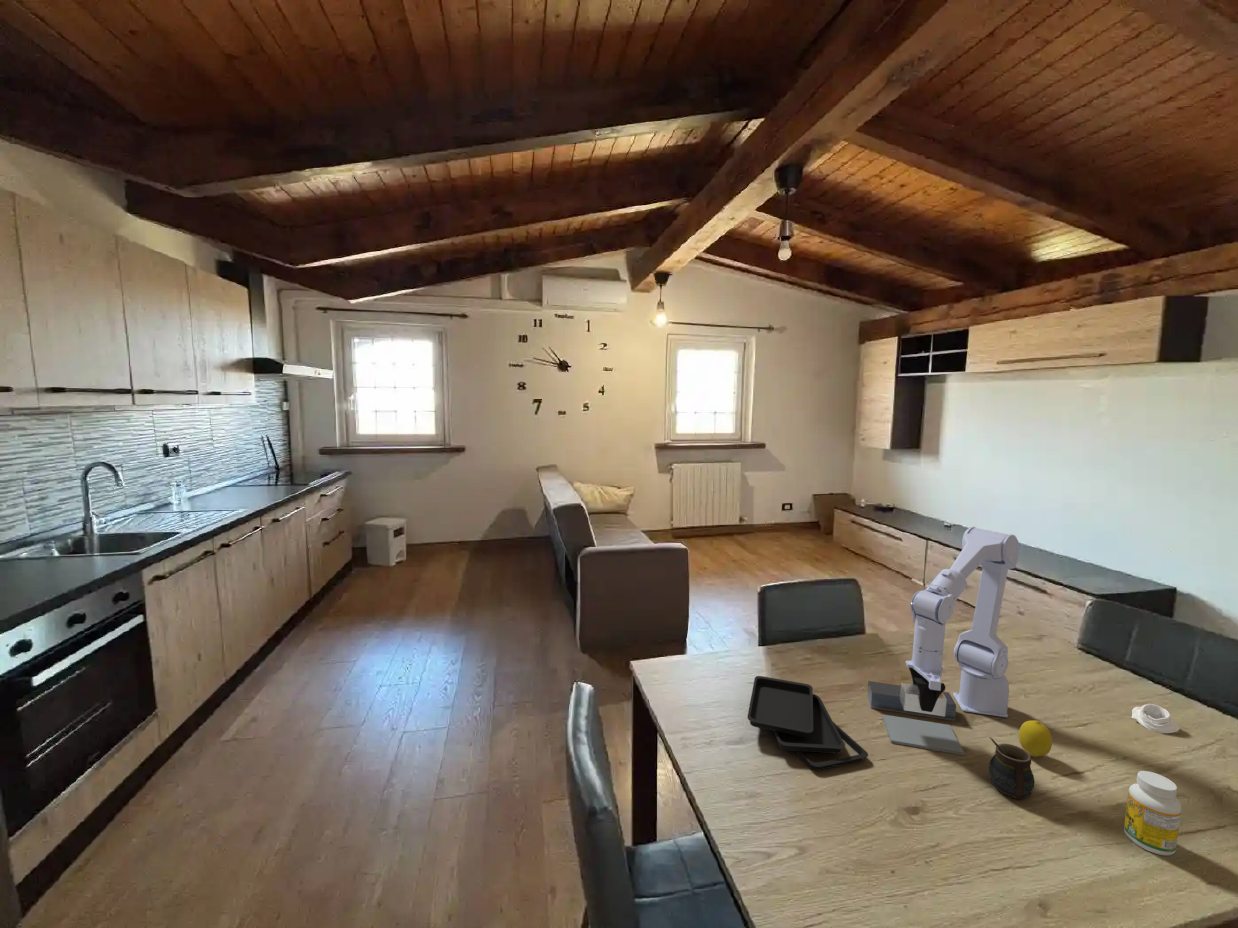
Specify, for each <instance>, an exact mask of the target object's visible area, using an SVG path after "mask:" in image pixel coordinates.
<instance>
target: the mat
mask: <svg viewBox="0 0 1238 928" xmlns="http://www.w3.org/2000/svg"><path fill="white" fill-rule="evenodd" d="M882 720H883V722H884V726H885V729H886V732H887V734H888V735H887V736H888V737H889V740H890V743H891V744H896V745H900V746H901V745H902V746H907V747H908V746H909V747H913V748H920V749H926V750H930V751H937V752H944V753H948V754H955V755H959V756H965V752H964V749H963V747H962V746H961V743H960V742H959V740H958V738H957V737H956V734H955V732H954V731H953V729H952V727H951V725H950V724H945V723H939V722H932V721H926V720H919V719H915V718H914V719H913V718H908V717H901V716H895V715H890V714H889V715H888V714H882Z"/></svg>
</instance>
